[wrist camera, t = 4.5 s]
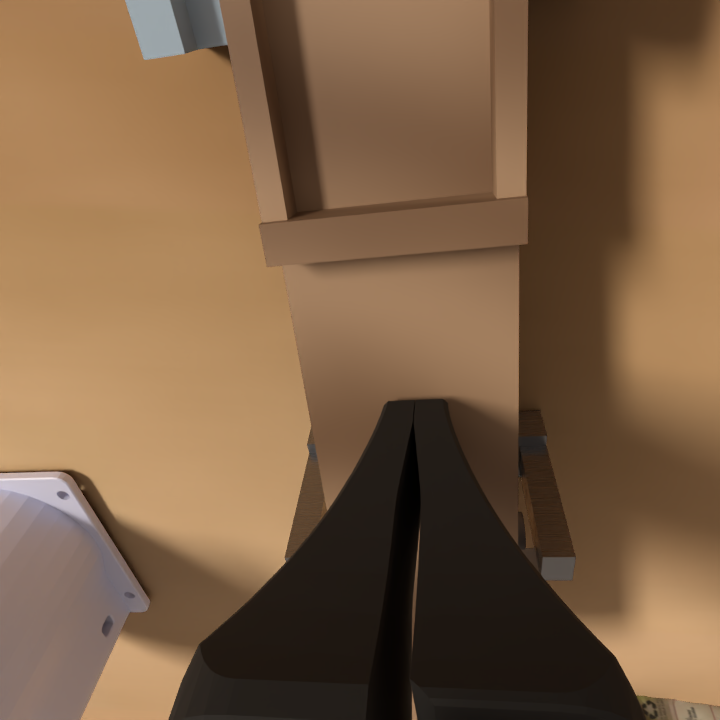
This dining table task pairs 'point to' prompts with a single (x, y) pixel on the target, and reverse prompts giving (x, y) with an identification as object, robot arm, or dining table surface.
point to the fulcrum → (537, 488)
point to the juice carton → (677, 709)
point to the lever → (394, 213)
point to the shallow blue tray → (176, 26)
